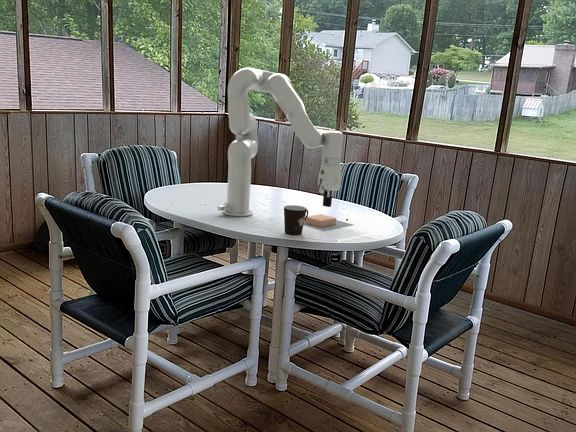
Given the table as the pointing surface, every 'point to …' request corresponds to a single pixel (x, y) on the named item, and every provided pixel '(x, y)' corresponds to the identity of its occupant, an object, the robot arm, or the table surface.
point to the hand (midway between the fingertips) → (326, 206)
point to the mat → (329, 226)
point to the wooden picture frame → (320, 220)
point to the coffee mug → (294, 219)
